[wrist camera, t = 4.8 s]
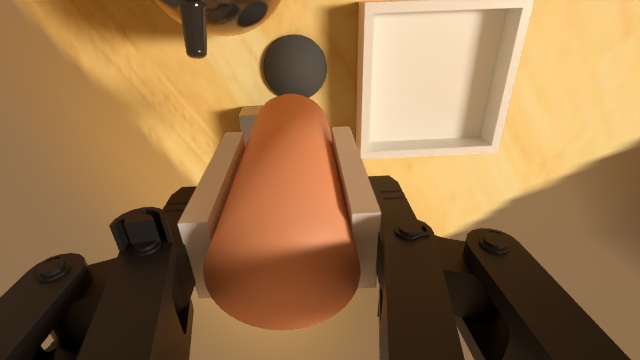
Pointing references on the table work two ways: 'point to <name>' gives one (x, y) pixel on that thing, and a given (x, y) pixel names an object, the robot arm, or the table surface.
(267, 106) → the pin
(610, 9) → the table surface
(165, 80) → the table surface
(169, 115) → the table surface
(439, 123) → the dock cradle
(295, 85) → the pin pad
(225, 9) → the dark piece
